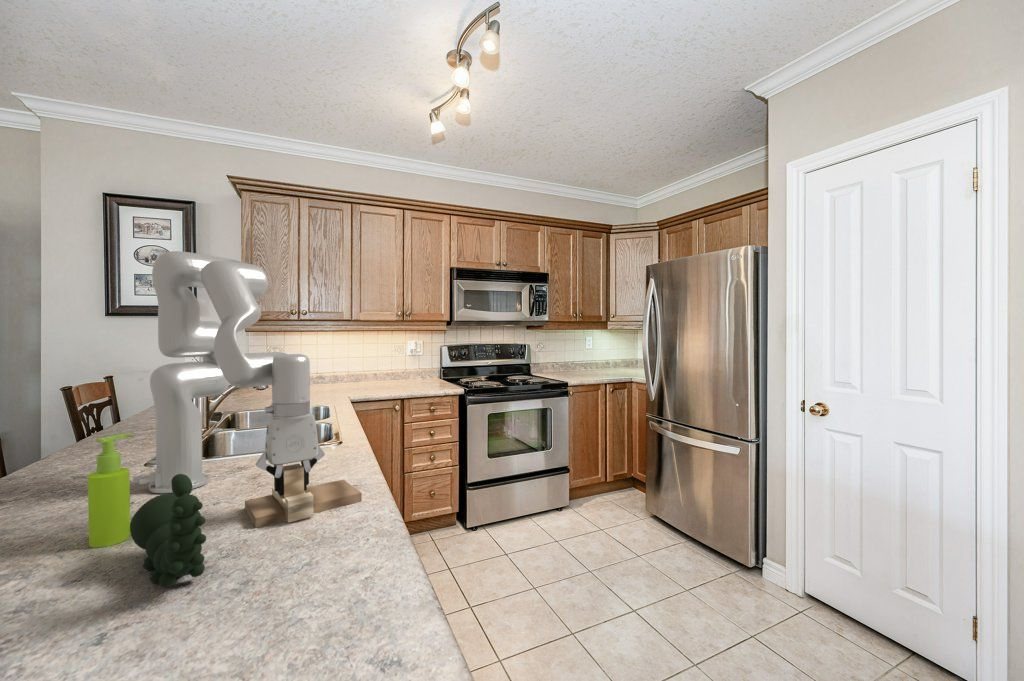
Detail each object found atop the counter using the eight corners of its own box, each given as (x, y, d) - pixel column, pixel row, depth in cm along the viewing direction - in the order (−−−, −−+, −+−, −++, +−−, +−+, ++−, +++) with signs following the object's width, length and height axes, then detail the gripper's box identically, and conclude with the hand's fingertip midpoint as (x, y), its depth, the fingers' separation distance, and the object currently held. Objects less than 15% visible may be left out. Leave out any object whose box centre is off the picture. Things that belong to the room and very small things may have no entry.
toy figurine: (223, 592, 71) (186, 530, 88) (225, 479, 69) (187, 437, 86) (148, 621, 64) (123, 547, 81) (148, 495, 62) (123, 446, 79)
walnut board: (255, 527, 90) (255, 518, 90) (244, 509, 99) (244, 500, 99) (361, 501, 105) (361, 492, 105) (343, 487, 114) (343, 479, 114)
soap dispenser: (143, 533, 88) (142, 433, 87) (101, 549, 81) (99, 441, 80) (124, 529, 89) (122, 430, 89) (81, 544, 83) (79, 438, 82)
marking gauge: (288, 522, 92) (287, 478, 92) (272, 501, 103) (271, 461, 103) (313, 516, 95) (313, 473, 95) (295, 496, 106) (295, 457, 106)
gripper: (251, 417, 90) (252, 505, 91) (335, 408, 101) (335, 487, 101) (244, 411, 96) (245, 495, 96) (325, 403, 107) (325, 478, 107)
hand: (291, 490), depth 99 cm, fingers closed on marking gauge, 4 cm apart
